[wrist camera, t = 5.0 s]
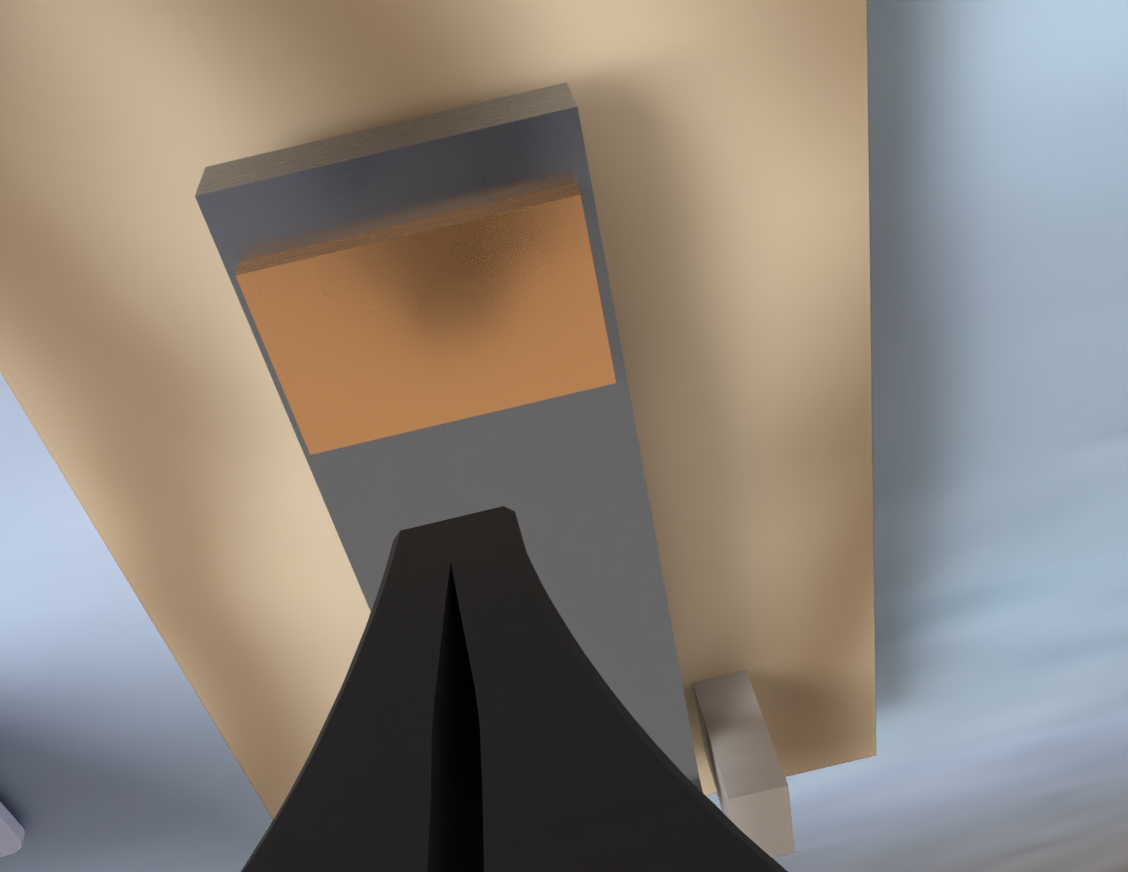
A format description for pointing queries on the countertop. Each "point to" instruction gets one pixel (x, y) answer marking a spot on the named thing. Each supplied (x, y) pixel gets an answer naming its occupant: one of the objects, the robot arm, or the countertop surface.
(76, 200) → the latch board
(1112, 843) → the countertop surface
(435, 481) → the latch bar
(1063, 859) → the countertop surface
